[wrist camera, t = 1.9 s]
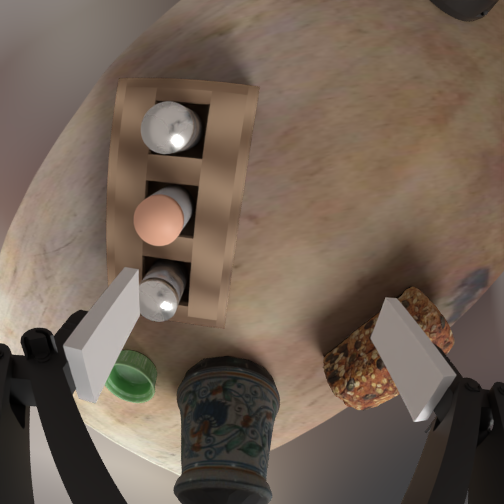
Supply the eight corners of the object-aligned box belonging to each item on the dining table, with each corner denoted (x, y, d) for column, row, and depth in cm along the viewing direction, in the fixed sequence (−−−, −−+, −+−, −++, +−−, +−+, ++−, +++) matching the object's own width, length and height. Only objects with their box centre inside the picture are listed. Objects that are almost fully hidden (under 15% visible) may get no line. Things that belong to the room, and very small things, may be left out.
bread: (411, 278, 41) (445, 313, 32) (436, 318, 44) (465, 352, 34) (316, 355, 45) (329, 401, 36) (351, 384, 48) (366, 427, 39)
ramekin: (167, 362, 45) (162, 381, 41) (150, 392, 48) (144, 410, 44) (117, 337, 44) (108, 354, 40) (105, 370, 46) (96, 386, 42)
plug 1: (164, 107, 28) (144, 100, 22) (206, 110, 28) (196, 103, 22) (159, 148, 29) (138, 152, 23) (200, 152, 30) (189, 156, 23)
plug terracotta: (155, 182, 30) (134, 194, 24) (196, 187, 31) (184, 199, 25) (153, 222, 32) (132, 242, 26) (192, 227, 32) (179, 249, 26)
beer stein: (247, 338, 44) (248, 497, 20) (300, 409, 50) (321, 531, 26) (160, 374, 46) (123, 506, 23) (223, 434, 52) (217, 546, 29)
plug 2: (151, 253, 33) (132, 278, 27) (189, 258, 34) (177, 285, 28) (151, 287, 35) (134, 317, 29) (187, 293, 35) (176, 324, 29)
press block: (141, 87, 31) (118, 78, 24) (257, 96, 32) (259, 86, 25) (128, 283, 40) (110, 309, 34) (227, 298, 41) (224, 328, 35)
